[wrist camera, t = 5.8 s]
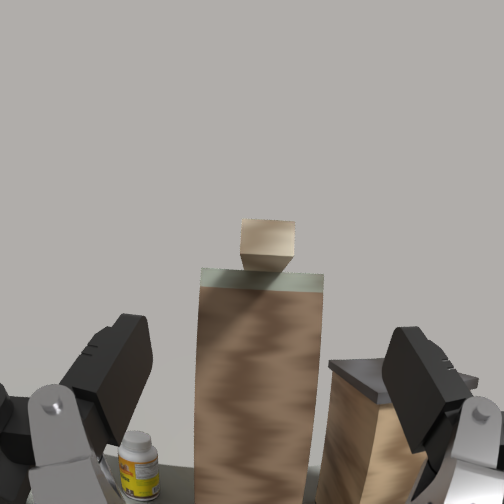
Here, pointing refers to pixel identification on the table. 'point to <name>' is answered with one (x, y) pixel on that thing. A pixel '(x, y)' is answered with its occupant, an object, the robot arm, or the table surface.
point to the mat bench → (366, 439)
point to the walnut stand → (255, 385)
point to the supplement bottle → (139, 466)
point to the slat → (267, 244)
